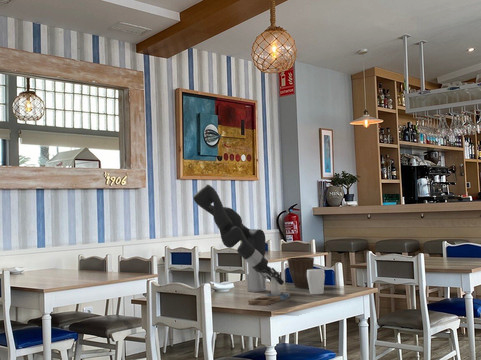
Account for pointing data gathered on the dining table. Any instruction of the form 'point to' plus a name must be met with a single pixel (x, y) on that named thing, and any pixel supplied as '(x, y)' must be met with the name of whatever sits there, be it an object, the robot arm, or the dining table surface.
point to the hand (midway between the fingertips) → (278, 282)
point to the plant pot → (300, 270)
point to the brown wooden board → (268, 299)
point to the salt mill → (275, 287)
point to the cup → (316, 280)
